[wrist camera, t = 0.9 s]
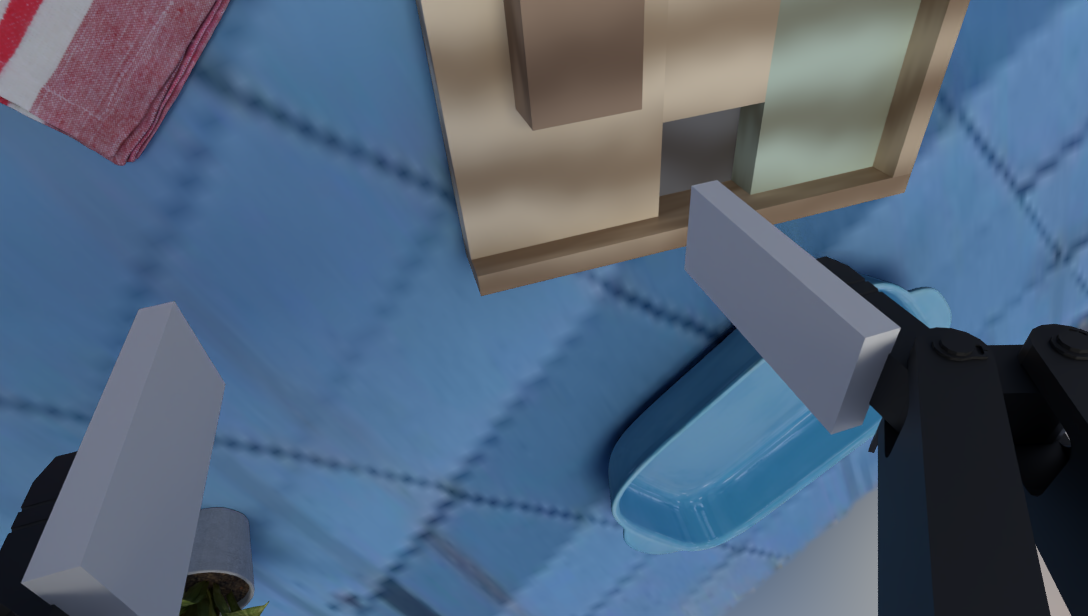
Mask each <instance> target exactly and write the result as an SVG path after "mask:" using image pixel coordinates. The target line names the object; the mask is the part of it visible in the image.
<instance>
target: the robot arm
mask: <svg viewBox="0 0 1088 616" xmlns="http://www.w3.org/2000/svg"><path fill="white" fill-rule="evenodd" d="M685 270H686V272H687V273H688V274H689V275H690V276H691V277H692V278H693V279H694V281H695V282H696V283H697V284H698V285H699V286H700V287H701V288H702V290H703V291H704V292H705V293H706V294H707V295H708V296H709V297H710V299H711V300H712V301H713V302H714V303H715V304H716V305H717V306H718V308H719V309H720V310H721V311H722V312H723V313H724V314H725V316H726V317H727V318H728V319H729V320H730V321H731V322H732V323H733V325H734V326H735V327H736V328H737V329H738V330H739V331H740V332H741V334H742V335H743V336H744V337H745V338H746V339H747V340H748V341H749V343H750V344H751V345H752V346H753V347H754V348H755V349H756V350H757V352H758V353H759V354H760V355H761V356H762V357H763V358H764V360H765V361H766V362H767V363H768V364H769V365H770V366H771V367H772V369H773V370H774V371H775V372H776V373H777V374H778V375H779V376H780V378H781V379H782V380H783V381H784V382H785V383H786V384H787V385H788V387H789V388H790V389H791V390H792V391H793V392H794V393H795V394H796V396H797V397H798V398H799V399H800V400H801V401H802V402H803V404H804V405H805V406H806V407H807V408H808V409H809V410H810V411H811V413H812V414H813V415H814V416H815V417H816V418H817V419H818V420H819V422H820V423H821V424H822V425H823V426H824V427H825V428H826V429H827V431H828V432H829V433H830V434H835V433H838V432H841V431H844V430H847V429H850V428H853V427H856V426H860V425H862V424H863V421H864V419H865V416H866V414H867V411H868V409H869V406H870V405H871V406H872V407H873V408H874V409H875V410H876V411H877V412H878V413H879V414H880V415H881V416H882V419H881V421H880V423H879V426H878V428H877V430H876V433H875V435H874V437H873V440H872V442H871V444H870V448H869V451H868V452H872V453H874V452H875V449H876V447H877V445H878V616H1051V615H1050V610H1049V606H1048V601H1047V596H1046V592H1045V587H1044V582H1043V578H1042V573H1041V569H1040V564H1039V559H1038V555H1037V550H1036V546H1037V548H1038V550H1039V552H1040V554H1041V556H1042V558H1043V560H1044V562H1045V564H1046V566H1047V568H1048V570H1049V572H1050V574H1051V576H1052V578H1053V580H1054V582H1055V584H1056V586H1057V588H1058V590H1059V592H1060V594H1061V596H1062V598H1063V600H1064V602H1065V604H1066V606H1067V608H1068V609H1069V612H1070V614H1071V616H1088V332H1087V331H1084V330H1082V329H1078V328H1075V327H1071V326H1065V325H1058V324H1049V325H1041V326H1038V327H1036V328H1034V329H1032V331H1031V333H1030V335H1029V336H1028V338H1027V340H1026V341H1025V343H1024V345H986V344H985V343H984V342H983V341H981V340H980V339H978V338H976V337H974V336H972V335H970V334H969V333H967V332H963V331H960V330H956V329H952V328H941V327H935V328H929V327H927V326H926V325H925V324H924V323H922V322H921V321H920V320H918V319H917V318H916V317H914V316H913V315H912V314H910V313H909V312H908V311H907V310H905V309H904V308H903V307H901V306H900V305H899V304H897V303H896V302H895V301H894V300H892V299H891V298H890V297H888V296H887V295H886V294H884V293H883V292H882V291H881V292H879V291H878V288H877V287H875V286H874V285H873V284H871V283H870V282H869V281H865V278H863V277H862V276H861V275H860V274H858V273H857V272H856V271H854V270H853V269H852V268H850V267H849V266H848V265H845V264H843V263H840V262H838V261H836V260H833V259H831V258H829V257H822V258H818V259H815V258H813V257H812V256H811V255H810V254H809V253H807V252H806V251H805V250H804V249H802V248H801V247H800V246H799V245H797V244H796V243H795V242H794V241H792V240H791V239H790V238H789V237H787V236H786V235H785V234H784V233H782V232H781V231H780V230H779V229H777V228H776V227H775V226H774V225H772V224H771V223H770V222H769V221H767V220H766V219H765V218H764V217H762V216H761V215H760V214H759V213H757V212H756V211H755V210H754V209H753V208H751V207H750V206H749V205H748V204H746V203H745V202H744V201H743V200H741V199H740V198H739V197H738V196H736V195H735V194H734V193H733V192H731V191H730V190H729V189H728V188H726V187H725V186H724V185H723V184H721V183H720V182H719V181H718V180H715V181H710V182H706V183H702V184H697V185H693V186H691V198H690V210H689V221H688V233H687V245H686V257H685ZM224 389H225V383H224V381H223V379H222V378H221V376H220V375H219V373H218V371H217V370H216V368H215V366H214V365H213V363H212V362H211V360H210V358H209V357H208V355H207V353H206V352H205V350H204V348H203V347H202V345H201V344H200V342H199V340H198V339H197V337H196V335H195V334H194V332H193V331H192V329H191V327H190V326H189V324H188V322H187V321H186V319H185V318H184V316H183V314H182V313H181V311H180V309H179V308H178V306H177V304H176V303H175V301H173V302H169V303H165V304H160V305H156V306H151V307H147V308H142V309H139V310H138V312H137V315H136V317H135V319H134V322H133V324H132V326H131V329H130V331H129V333H128V336H127V338H126V340H125V343H124V345H123V347H122V350H121V352H120V354H119V357H118V359H117V361H116V363H115V366H114V368H113V370H112V373H111V375H110V377H109V380H108V382H107V384H106V387H105V389H104V391H103V394H102V396H101V398H100V401H99V403H98V405H97V408H96V410H95V412H94V415H93V417H92V419H91V422H90V424H89V426H88V428H87V431H86V433H85V435H84V438H83V440H82V442H81V445H80V447H79V449H78V451H76V452H73V453H69V454H65V455H61V456H57V457H55V458H54V459H53V461H52V462H51V463H50V464H49V465H48V466H47V467H46V468H45V469H44V471H43V472H42V473H41V474H40V475H39V476H38V477H37V478H36V479H35V481H34V482H33V483H32V485H31V488H30V490H29V492H28V494H27V496H26V498H25V500H24V502H23V504H22V506H21V508H22V512H18V515H17V517H16V519H15V521H14V523H13V525H12V527H11V529H12V533H9V534H8V535H7V537H6V539H5V542H4V544H3V546H2V548H1V550H0V616H179V613H180V608H181V603H182V598H183V593H184V588H185V583H186V578H187V573H188V568H189V563H190V558H191V553H192V548H193V543H194V538H195V533H196V528H197V523H198V518H199V513H200V508H201V503H202V498H203V493H204V488H205V483H206V478H207V473H208V468H209V463H210V458H211V453H212V448H213V443H214V438H215V433H216V428H217V423H218V419H219V414H220V409H221V404H222V399H223V394H224ZM1065 432H1067V434H1068V436H1069V439H1070V440H1069V439H1068V437H1067V435H1066V434H1065ZM1035 544H1036V545H1035Z"/></svg>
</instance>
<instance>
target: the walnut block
mask: <svg viewBox="0 0 1088 616" xmlns="http://www.w3.org/2000/svg"><path fill="white" fill-rule="evenodd" d="M503 2H504V11H505V20H506V29H507V37H508V46H509V55H510V64H511V73H512V81H513V90H514V99H515V108H516V110H517V111H518V113H519V114H520V115H521V116H522V118H523V119H524V120H525V121H526V123H527V124H528V125H529V127H530V128H531V129H532V130H533V131H535V130H540V129H545V128H550V127H555V126H560V125H565V124H570V123H575V122H580V121H585V120H591V119H596V118H601V117H606V116H611V115H616V114H621V113H626V112H631V111H636V110H641V109H642V91H643V49H644V7H645V0H503Z"/></svg>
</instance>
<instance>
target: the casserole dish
mask: <svg viewBox="0 0 1088 616" xmlns="http://www.w3.org/2000/svg"><path fill="white" fill-rule="evenodd" d="M858 274H860V273H858ZM860 275H861V276H862V277H863V278H865V281H869V282H870V283H871V284H873V285H874V286H875V287H877V288H878V291H879V292H881V291H882V292H883V293H884V294H886V295H887V296H888V297H890V298H891V299H892V300H894V301H895V302H896V303H897V304H899V305H900V306H901V307H903V308H904V309H905V310H907V311H908V312H909V313H910V314H912V315H913V316H914V317H916V318H917V319H918V320H920V321H921V322H922V323H924V324H925V325H926V326H927V327H929V328H935V327H941V328H950V325H951V319H952V315H951V311H950V308H949V306H948V304H947V302H946V300H945V299H944V297H943V296H942V295H941V293H940V292H938V291H937V290H936V289H934V288H931V287H920V288H915V289H912V290H908V291H906V290H905V289H903V288H901V287H900V286H898V285H896V284H893V283H890V282H886V281H883V280H880V279H877V278H874V277H870V276H867V275H863V274H860ZM881 419H882V416H881V415H880V414H879V413H878V412H877V411H876V410H875V409H874V408H873V407H872V406H871V405H870V406H869V409H868V411H867V414H866V416H865V419H864V421H863V424H862V425H860V426H856V427H853V428H850V429H847V430H844V431H841V432H838V433H835V434H830V433H829V432H828V431H827V429H826V428H825V427H824V426H823V425H822V424H821V423H820V422H819V420H818V419H817V418H816V417H815V416H814V415H813V414H812V413H811V411H810V410H809V409H808V408H807V407H806V406H805V405H804V404H803V402H802V401H801V400H800V399H799V398H798V397H797V396H796V394H795V393H794V392H793V391H792V390H791V389H790V388H789V387H788V385H787V384H786V383H785V382H784V381H783V380H782V379H781V378H780V376H779V375H778V374H777V373H776V372H775V371H774V370H773V369H772V367H771V366H770V365H769V364H768V363H767V362H766V361H765V360H764V358H763V357H762V356H761V355H760V354H759V353H758V352H757V350H756V349H755V348H754V347H753V346H752V345H751V344H750V343H749V341H748V340H747V339H746V338H745V337H744V336H743V335H742V334H741V332H740V331H739V330H738V329H737V328H736V329H735V330H734V331H733V332H732V333H731V334H730V335H728V336H727V337H726V338H725V339H724V340H723V341H722V342H721V343H720V344H718V345H717V346H716V347H715V348H714V349H713V350H712V351H710V352H709V353H708V354H707V355H706V356H705V357H704V358H703V359H702V360H701V361H700V362H699V363H697V364H696V365H695V366H694V367H693V368H691V369H690V370H689V371H688V372H687V373H686V374H685V375H684V376H683V377H681V378H680V379H679V380H678V381H677V382H676V383H675V384H674V385H672V386H671V387H670V388H669V389H668V390H667V391H666V392H665V393H664V394H663V395H662V396H661V397H659V398H658V399H657V400H656V401H655V402H654V403H653V404H652V405H651V406H650V407H648V408H647V409H646V410H645V411H644V412H643V413H642V414H641V415H640V416H639V417H638V418H637V419H636V420H635V421H634V422H633V423H632V424H631V425H630V426H629V428H628V429H627V430H626V431H625V432H624V433H623V435H622V436H621V437H620V439H619V440H618V442H617V443H616V445H615V447H614V449H613V451H612V453H611V456H610V461H609V468H608V477H609V489H610V497H611V510H612V514H613V516H614V518H615V520H616V521H617V522H618V523H619V524H620V525H621V526H622V527H623V528H624V529H623V537H624V540H625V542H626V544H627V545H628V546H630V547H631V548H633V549H635V550H637V551H640V552H643V553H648V554H667V553H672V552H677V551H700V550H705V549H709V548H712V547H715V546H718V545H720V544H722V543H724V542H727V541H729V540H731V539H732V538H734V537H736V536H738V535H739V534H741V533H742V532H744V531H746V530H747V529H749V528H750V527H751V526H753V525H754V524H756V523H757V522H759V521H760V520H761V519H763V518H764V517H765V516H767V515H768V514H769V513H771V512H772V511H773V510H775V509H776V508H778V507H779V506H780V505H782V504H783V503H784V502H786V501H787V500H788V499H790V498H791V497H792V496H794V495H795V494H796V493H798V492H799V491H800V490H802V489H803V488H804V487H806V486H807V485H808V484H810V483H811V482H812V481H814V480H815V479H816V478H817V477H819V476H820V475H821V474H823V473H824V472H825V471H827V470H828V469H829V468H831V467H832V466H833V465H835V464H836V463H837V462H839V461H840V460H841V459H843V458H844V457H845V456H847V455H848V454H849V453H851V452H852V451H853V450H855V449H856V448H857V447H859V446H860V445H861V444H863V443H864V442H866V441H867V440H868V439H870V438H871V437H872V436H873V435H875V433H876V430H877V428H878V426H879V423H880V421H881Z"/></svg>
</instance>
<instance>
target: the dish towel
mask: <svg viewBox="0 0 1088 616" xmlns="http://www.w3.org/2000/svg"><path fill="white" fill-rule="evenodd" d="M229 2H230V0H0V102H1V103H3V104H5V105H7V106H9V107H11V108H13V109H15V110H17V111H19V112H20V113H22V114H24V115H26V116H27V117H29V118H31V119H34V120H36V121H38V122H40V123H42V124H44V125H47V126H49V127H51V128H53V129H55V130H57V131H59V132H62V133H64V134H66V135H68V136H70V137H72V138H73V139H75V140H77V141H78V142H80V143H81V144H83V145H84V146H86V147H87V148H89V149H91V150H94V151H96V152H97V153H99V154H100V155H102V156H103V157H105V158H106V159H108V160H110V161H111V162H113V163H114V164H116V165H120V166H124V165H125V164H126V162H134V161H135V159H138V158H139V156H140V155H141V154H142V152H143V151H144V149H145V148H146V146H147V144H148V143H149V141H150V140H151V138H152V137H153V135H154V134H155V132H156V131H157V129H158V128H159V126H160V124H161V122H162V121H163V119H164V117H165V115H166V114H167V112H168V110H169V109H170V107H171V106H172V104H173V103H174V101H175V100H176V98H177V96H178V95H179V93H180V91H181V89H182V87H183V85H184V84H185V82H186V80H187V78H188V76H189V75H190V73H191V71H192V69H193V67H194V66H195V64H196V62H197V60H198V59H199V57H200V55H201V53H202V52H203V50H204V48H205V46H206V44H207V43H208V41H209V39H210V38H211V36H212V34H213V32H214V30H215V28H216V26H217V25H218V23H219V21H220V20H221V17H222V15H223V13H224V12H225V10H226V8H227V6H228V4H229Z"/></svg>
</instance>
